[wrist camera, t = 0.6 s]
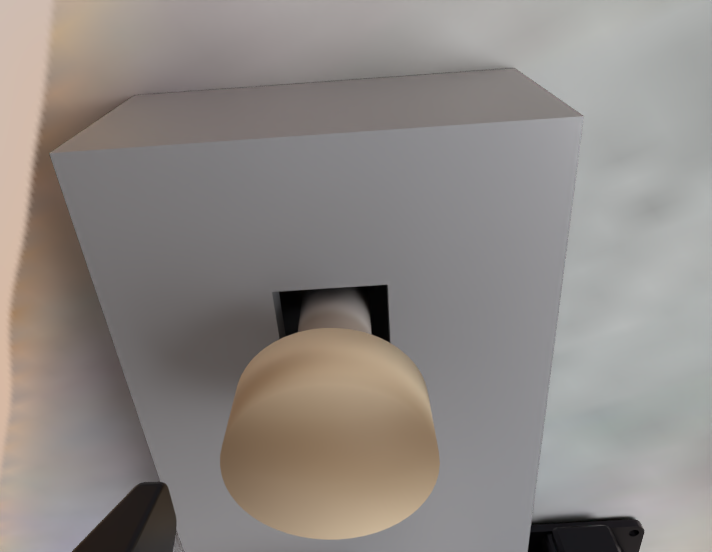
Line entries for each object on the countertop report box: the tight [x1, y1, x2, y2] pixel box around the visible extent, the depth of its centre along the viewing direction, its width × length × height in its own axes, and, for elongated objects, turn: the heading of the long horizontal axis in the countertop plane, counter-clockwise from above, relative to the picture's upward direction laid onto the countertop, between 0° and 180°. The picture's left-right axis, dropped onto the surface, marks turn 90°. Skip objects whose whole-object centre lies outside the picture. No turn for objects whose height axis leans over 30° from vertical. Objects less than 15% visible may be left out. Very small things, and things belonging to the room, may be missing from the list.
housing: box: [49, 68, 584, 552], centre depth 21 cm, size 22×12×6 cm, turn 4°
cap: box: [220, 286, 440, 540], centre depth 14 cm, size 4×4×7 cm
